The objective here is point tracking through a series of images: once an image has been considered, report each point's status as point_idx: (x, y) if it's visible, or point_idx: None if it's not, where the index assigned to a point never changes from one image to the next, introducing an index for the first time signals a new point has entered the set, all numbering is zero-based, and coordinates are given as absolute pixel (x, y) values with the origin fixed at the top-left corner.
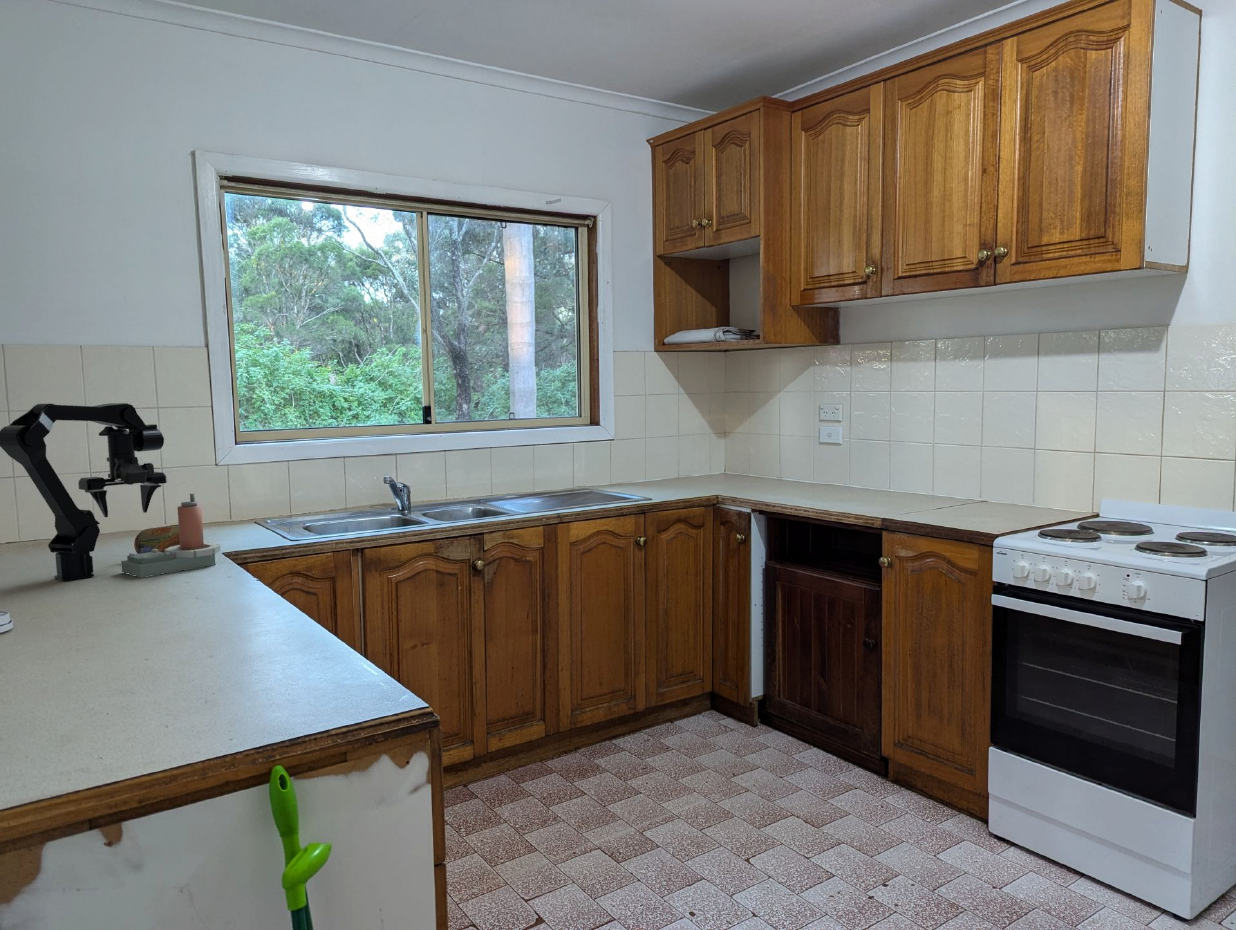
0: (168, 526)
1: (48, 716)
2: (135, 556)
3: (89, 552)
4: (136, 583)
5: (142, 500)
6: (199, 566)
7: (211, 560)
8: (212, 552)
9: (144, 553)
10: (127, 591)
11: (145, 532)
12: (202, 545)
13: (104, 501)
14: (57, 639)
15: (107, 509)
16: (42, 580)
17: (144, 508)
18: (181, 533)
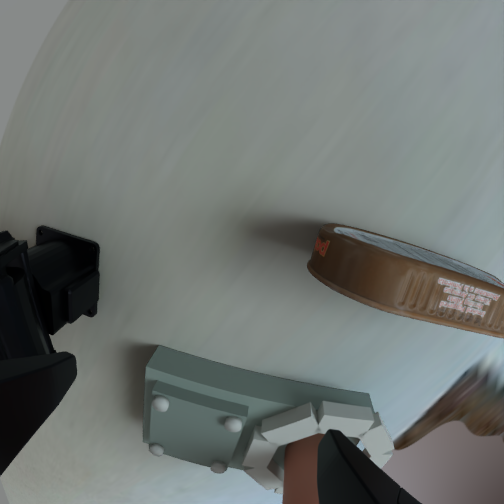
0: (469, 323)
1: (15, 500)
2: (160, 416)
3: (56, 331)
4: (125, 436)
5: (349, 495)
6: None
7: None
8: None
9: (201, 411)
10: (93, 449)
11: (366, 294)
12: None
13: (5, 449)
14: (14, 466)
15: (49, 414)
16: (24, 218)
17: (319, 467)
18: (283, 501)
